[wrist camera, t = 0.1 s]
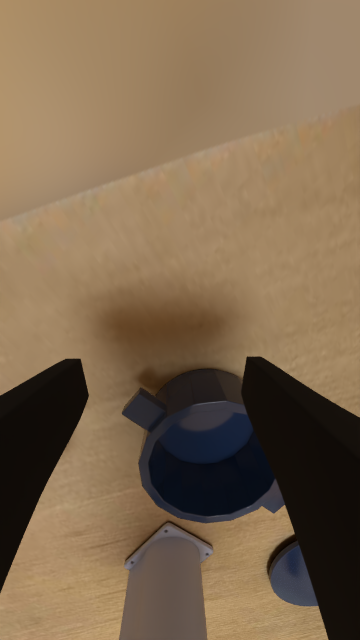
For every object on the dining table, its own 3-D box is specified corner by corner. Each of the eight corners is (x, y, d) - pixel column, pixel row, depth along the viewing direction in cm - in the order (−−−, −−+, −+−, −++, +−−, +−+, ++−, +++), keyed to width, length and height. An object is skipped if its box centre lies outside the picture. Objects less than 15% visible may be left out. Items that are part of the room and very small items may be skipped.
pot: (225, 493, 24) (240, 554, 19) (104, 415, 21) (81, 462, 16) (299, 425, 22) (339, 472, 17) (178, 329, 19) (180, 349, 14)
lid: (310, 605, 30) (335, 664, 25) (246, 570, 27) (261, 627, 23) (382, 555, 27) (423, 609, 23) (319, 511, 25) (351, 562, 21)
